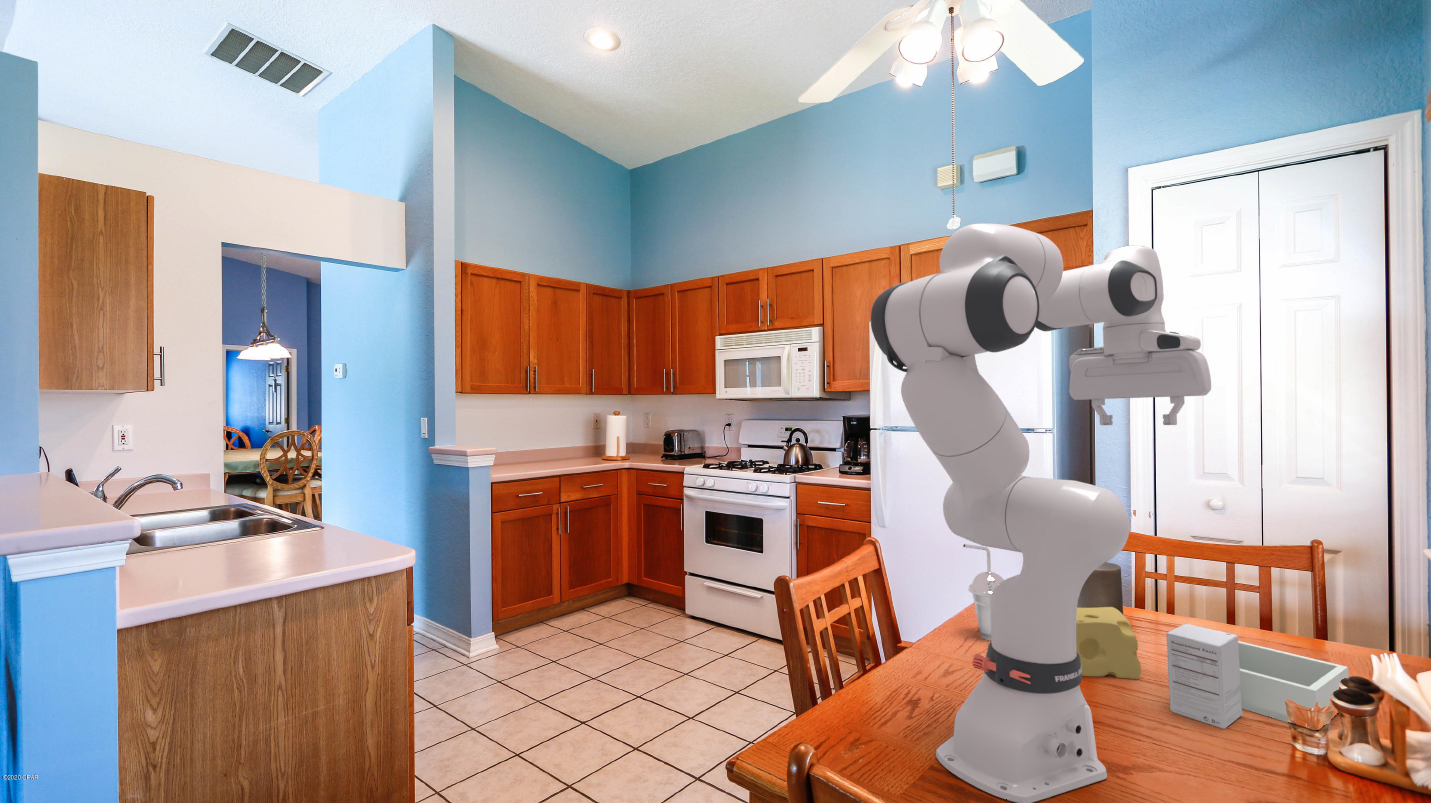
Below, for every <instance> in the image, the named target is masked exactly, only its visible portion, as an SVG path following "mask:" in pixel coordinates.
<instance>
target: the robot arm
mask: <svg viewBox="0 0 1431 803" xmlns="http://www.w3.org/2000/svg"><path fill="white" fill-rule="evenodd" d="M939 268H940V272H939V273H934V274H930V275H926V276H924V277H920V278H916V279H914V280H912V281H911V280H910V281H909V282H908V281H906V282H905V281H903V282H900V283H897V284H895V285H893V286H891V287H889V288H887V289H886V290H884V291H883V292H882V293H880V294H879V295H878V296H877V297H876V299H875V300H874V302H873V304H872V308H871V311H870V312H871V313H870V327H871V328H870V329H871V333H872V336H873V338H874V339H875V342H876V344H877V346H878V348H879V350H880V351H881V352H882V354H884V355H885V356H886V359H887V362H888V363H889V364H890V365H891V366H892V367H893V368H895V369H896V370H899V371H900V372H904V373H905V374H904V376H903V379H902V383H901V385H900V386H901V387H900V393H901V398H902V401H903V404H904V407H905V408H906V412H907V413H908V416H909V417H910V420H911V422H912V423H913V425H914V427H915V428H916V430H917V433H918V434H919V435H920V438H922V440H923V441H924V442H925V444H926V446H927V447H928V448H929V450H930V451H931V453H932V454H933V455H934V456H935V457H936V459H937V461H938V462H939V464H940V465H941V466H942V468H943V469H944V471H945V472H946V474H947V475H948V476H949V478H950V479H951V481H952V483H951V484H950V485H949V487H948V488H947V490H946V492H945V495H944V498H943V502H942V511H943V517H944V520H945V522H946V525H947V527H948V528H949V530H950V531H951V532H952V533H953V534H954V535H956V536H958V537H960V538H962V539H965V540H967V541H969V542H972V543H974V544H977V545H978V546H982V547H987V548H994V549H999V550H1005V551H1010V552H1011V551H1012V552H1017V553H1021V554H1022V566H1021V571H1020V572H1019V574H1016V575H1013V576H1010V577H1008V578H1006V579H1004V581H1002V582H1000V583H999V584H998V585H997V586H996V587H995V588H994V590H993V591H992V593H991V596H990V620H991V641H990V642H989V643H988V647H987V651H986V652H985V656H983V655H981V654H979V653H975V654H974V656H973V658H972V661H971V662H972V666H973V668H974V669H976V670H981V671H983V672H984V674H983V675H982V677H981V679H980V680H979V682H978V683H977V684H976V686H975V687H974V688H973V690H972V691H971V693H970V694H969V695H968V697H967V698H966V700H965V701H964V703H963V704H962V705H961V707H960V708H959V710H958V711H957V713H956V715H955V719H954V723H953V724H954V725H953V726H954V728H953V735H952V736H951V737H949V738H948V739H947V740H946V741H944V742H943V743H942V744H941V745H940V746H938V747H937V748H936V752H935V757H936V759H937V760H938V761H939V763H940V764H941V765H942V766H943V767H944V768H945V769H947V770H948V771H949V772H951V773H952V774H954V775H955V776H956V777H958V778H960V779H961V780H962V781H964V782H967V783H968V784H970V785H972V786H974V787H975V788H977V789H979V790H982V791H983V792H986V793H988V794H990V795H992V796H995V797H996V798H997V797H998V798H1001V799H1004V800H1006V799H1007V800H1006V801H1009V802H1014V803H1035V802H1039V801H1041V800H1044V799H1048V798H1051V797H1053V796H1057V795H1060V794H1063V793H1066V792H1069V791H1072V790H1076V789H1079V788H1081V787H1082V788H1083V787H1085V786H1088V785H1090V784H1095V783H1097V782H1101V781H1104V780H1106V779H1108V773H1107V768H1106V767H1105V764H1103V763H1102V762H1101V761H1100V760H1099V759H1098V754H1097V753H1098V752H1097V745H1096V738H1095V730H1094V723H1093V715H1092V711H1091V707H1090V706H1089V704H1088V703H1087V700H1086V699H1085V697H1084V694H1083V692H1082V690H1081V686H1080V684H1081V683H1082V681H1083V680H1082V677H1083V676H1081V673H1082V665H1081V661H1080V655H1079V654H1078V652H1077V649H1076V617H1077V603H1078V598H1079V595H1080V592H1081V589H1082V587H1083V585H1084V583H1085V581H1086V580H1087V578H1088V577H1089V576H1090V574H1091V573H1092V572H1093V571H1094V570H1095V569H1096V568H1098V567H1099V566H1100V565H1102V564H1103V563H1105V562H1109V561H1110V560H1112V559H1114V558H1115V557H1116V556H1118V555H1119V553H1120V552H1121V551H1122V550H1123V548H1124V547H1125V545H1126V543H1127V541H1128V539H1129V535H1130V530H1131V529H1130V528H1131V524H1130V523H1131V522H1130V517H1129V513H1128V510H1127V508H1126V506H1125V505H1124V502H1123V501H1122V500H1121V498H1120V497H1119V496H1118V495H1117V494H1116V493H1115V492H1114V491H1112V490H1111V489H1108V488H1104V487H1101V486H1097V485H1094V484H1091V483H1086V482H1082V481H1078V480H1074V479H1073V480H1071V479H1059V478H1045V477H1033V476H1026V475H1023V473H1024V472H1025V470H1026V469H1027V467H1028V465H1029V462H1030V461H1029V460H1030V445H1029V444H1030V443H1029V441H1028V439H1027V437H1026V436H1025V434H1024V433H1023V432H1022V430H1021V428H1020V426H1019V425H1018V424H1017V422H1016V421H1015V419H1014V418H1013V416H1012V415H1011V413H1010V412H1009V410H1008V408H1007V407H1006V404H1004V402H1003V401H1002V399H1001V398H1000V397H999V395H998V394H997V392H996V391H995V389H993V387H992V386H991V385H990V384H989V382H987V380H986V379H985V378H984V376H982V375H981V373H980V372H979V369H978V366H977V361H976V360H977V359H976V355H980V354H983V353H988V352H989V353H999V352H1003V351H1008V350H1011V349H1013V348H1016V347H1019V346H1021V345H1023V344H1024V343H1025V342H1027V341H1028V340H1029V338H1030V337H1031V335H1032V334H1033V332H1034V330H1035V329H1038V330H1039V331H1042V332H1052V331H1056V330H1062V329H1065V328H1071V327H1079V326H1084V325H1085V326H1086V325H1092V324H1100V323H1103V324H1102V338H1103V339H1102V340H1103V341H1102V342H1103V346H1097V347H1092V348H1078V349H1077V350H1076V351H1074V352H1073V353H1072V354H1071V355H1070V357H1069V358H1068V359H1069V360H1068V362H1069V363H1068V364H1069V371H1070V377H1069V390H1068V392H1069V395H1070V397H1071V398H1072V399H1073V400H1075V401H1079V400H1080V401H1082V400H1083V401H1084V400H1086V401H1087V400H1091V407H1092V408H1093V409H1094V411H1095V412H1096V414H1097V415H1098V416H1099V425H1100V426H1113V424H1114V421H1113V419H1114V418H1113V415H1112V414H1108V413H1107V412H1106V410H1105V409H1104V407H1103V406H1106V400H1110V399H1112V400H1113V399H1114V400H1115V399H1141V398H1169V402H1170V404H1173V406H1172V408H1170V410H1169V412H1168V413H1166V414H1165V413H1164V414H1162V419H1163V420H1162V424H1163V426H1177V425H1178V414H1179V413H1180V411H1181V409H1182V408H1183V407H1184V405H1185V397H1202V396H1203V397H1204V396H1207V395H1208V394H1209V393H1210V392H1211V390H1212V379H1211V378H1212V377H1211V372H1210V368H1209V364H1208V360H1207V358H1206V357H1205V355H1204V354H1203V353H1201V352H1200V351H1199V350H1200V349H1201V346H1202V343H1201V339H1200V338H1199V337H1196V336H1192V335H1188V334H1181V333H1179V332H1176V331H1168V332H1167V331H1166V321H1165V319H1164V317H1163V313H1162V306H1163V302H1164V298H1165V297H1164V284H1163V283H1164V282H1163V281H1164V280H1163V275H1162V268H1161V264H1160V260H1159V256H1158V253H1157V252H1156V250H1155V249H1154V248H1151V247H1149V246H1146V245H1145V246H1144V245H1125V246H1119V247H1116V248H1114V249H1110V251H1108V252H1106V254H1105V255H1104V258H1103V261H1101V262H1098V263H1095V264H1091V265H1087V266H1082V267H1077V268H1073V269H1069V270H1068V269H1067V270H1064V261H1063V256H1062V253H1061V250H1060V249H1059V248H1058V246H1057V245H1056V244H1055V243H1054V241H1052V240H1051V239H1049V238H1048V237H1046V236H1044V235H1043V234H1040V233H1037V232H1035V231H1031V230H1029V229H1025V228H1022V227H1018V226H1014V225H1008V224H999V223H988V222H987V223H986V222H984V223H983V222H982V223H979V222H978V223H972V224H968V225H965V226H963V227H961V228H959V229H957V230H956V231H955V232H953V234H951V236H950V237H948V238H947V240H946V242H945V243H944V245H943V247H942V249H941V252H940V257H939Z"/></svg>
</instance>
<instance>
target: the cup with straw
mask: <svg viewBox="0 0 1431 803" xmlns="http://www.w3.org/2000/svg"><path fill="white" fill-rule="evenodd" d="M962 546H963V548H965V549H966V548H968V549H974V550H983V551H985V552H986V569H987V570H986V571H983V572H980V573H978V574H976V575H975V577H974V578H973V580H972V582H971V583H970V585H969V586H968V592H969V593H971V594H972V599H973V603H974V606H975V612H976V618H977V625H978V627H977V628H978V631H979V633H980V634H979V637H980V638H981V639H983V640H986V641H990V642H991V620H990V596H991V593H992V591H993V590H994V588H995V587H996V586H997V585H998V584H999V583H1000V582H1002V581H1004V580H1005V579H1004V578H1003V577H1002V576H1001V575H1000V574H998V573H996V572H993V571H992V566H991V565H992V564H991V551H990V549H989V547H987V546H982V545H973V544H966V543H963V545H962Z"/></svg>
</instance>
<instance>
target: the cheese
mask: <svg viewBox="0 0 1431 803" xmlns="http://www.w3.org/2000/svg"><path fill="white" fill-rule="evenodd" d="M1132 628H1133V627H1132V625H1131V622H1130V621H1129V619H1128V618H1127V617H1126V616H1125V615H1124V613H1123V614H1122V613H1121V612H1120V611H1119V610H1117V609H1116V608H1114V607H1098V608H1077V617H1076V649H1077V652H1078V654H1079V655H1080V661H1081V665H1082V673H1081V676H1082V677H1106V675H1107V676H1109V675H1110V676H1114V677H1116V678H1117V679H1128V680H1130V679H1131V680H1140V677H1141V673H1142V672H1141V671H1142V670H1141V668H1142V667H1141V663H1140V662H1141V661H1140V660H1139V658H1138V651H1139V650H1138V649H1139V644H1138V640H1137V636H1136V634H1135V633H1134V631H1133V629H1132Z"/></svg>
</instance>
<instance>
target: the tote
mask: <svg viewBox="0 0 1431 803" xmlns="http://www.w3.org/2000/svg"><path fill="white" fill-rule="evenodd" d="M1238 645H1239V664H1240V683H1241V702H1242V710H1245V711H1249V712H1252V713H1255V714H1258V715H1262V716H1265V717H1268V716H1269V717H1268V718H1271V717H1272V718H1271V719H1275V720H1278V721H1282V722H1285V723H1288V716H1287V712H1286V705H1285V700H1286V699H1288V700H1291V701H1293V702H1295V703H1297V704H1299V705H1301V706H1305V707H1307V708H1314V706H1315V704H1316V702H1318V706H1319V707H1320V708H1323V707H1325V706H1330V695H1331V694H1332V693H1333V692H1334V691H1336V690H1338V689H1339V682H1340V681H1341V680H1342V679H1344V678H1349V667H1348V666H1345V665H1341V664H1337V663H1333V662H1328V661H1326V660H1325V661H1324V660H1321V659H1317V658H1312V657H1307V656H1303V655H1299V654H1295V653H1291V652H1287V651H1286V652H1285V651H1282V650H1278V649H1275V648H1274V649H1273V648H1270V647H1267V646H1266V647H1265V646H1261V645H1257V644H1252V643H1249V642H1244V641H1241V640H1238ZM1288 724H1289V723H1288Z"/></svg>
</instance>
